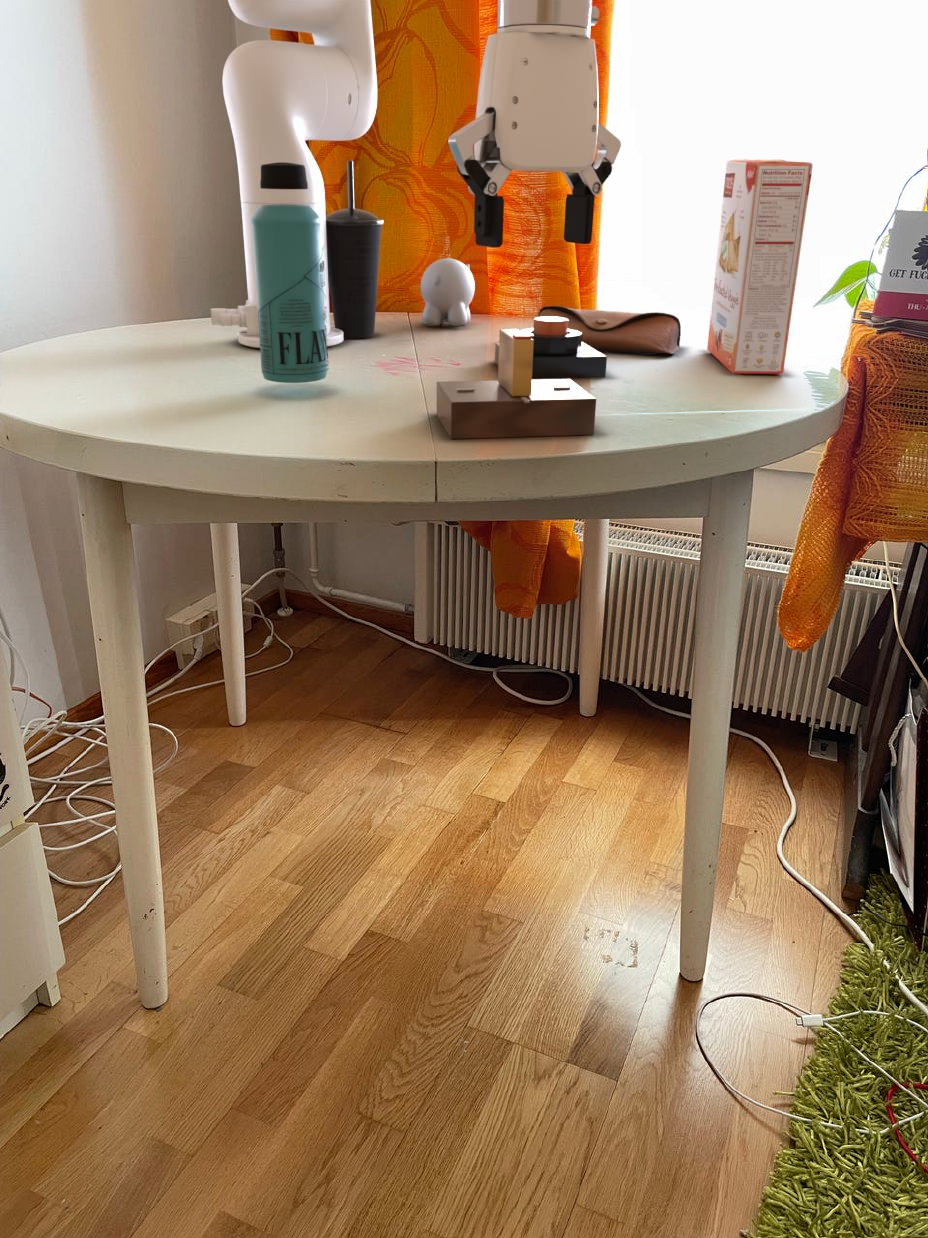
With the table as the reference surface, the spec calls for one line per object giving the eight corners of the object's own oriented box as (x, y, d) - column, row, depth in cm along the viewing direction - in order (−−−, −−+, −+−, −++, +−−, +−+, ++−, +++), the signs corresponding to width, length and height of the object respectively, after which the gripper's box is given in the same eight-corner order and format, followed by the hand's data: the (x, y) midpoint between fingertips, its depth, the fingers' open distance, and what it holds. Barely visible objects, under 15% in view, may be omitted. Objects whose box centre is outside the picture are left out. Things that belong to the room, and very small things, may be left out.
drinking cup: (375, 342, 121) (372, 161, 112) (316, 339, 122) (308, 160, 113) (392, 332, 127) (390, 161, 119) (335, 329, 129) (329, 160, 120)
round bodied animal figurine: (487, 317, 140) (488, 254, 137) (466, 330, 130) (467, 261, 126) (438, 315, 142) (438, 252, 138) (414, 327, 131) (413, 259, 128)
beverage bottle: (273, 401, 91) (257, 162, 82) (252, 387, 96) (235, 161, 88) (340, 395, 94) (331, 163, 85) (316, 382, 99) (305, 162, 90)
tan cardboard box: (497, 382, 85) (499, 326, 83) (515, 382, 86) (517, 325, 84) (512, 396, 80) (514, 336, 78) (531, 396, 81) (533, 336, 79)
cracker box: (702, 351, 118) (724, 158, 109) (753, 352, 118) (779, 159, 109) (727, 374, 106) (754, 158, 97) (784, 375, 105) (816, 159, 96)
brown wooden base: (452, 441, 79) (453, 402, 78) (435, 413, 88) (435, 377, 86) (597, 437, 81) (599, 399, 80) (565, 410, 90) (567, 374, 88)
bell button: (537, 338, 103) (538, 321, 102) (529, 333, 106) (530, 316, 105) (571, 338, 103) (572, 321, 103) (562, 332, 107) (563, 316, 106)
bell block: (512, 379, 101) (513, 339, 100) (494, 363, 109) (495, 325, 108) (605, 377, 103) (608, 338, 101) (581, 361, 111) (584, 324, 109)
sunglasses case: (521, 343, 118) (530, 290, 118) (531, 365, 124) (538, 314, 125) (674, 354, 113) (682, 298, 114) (675, 375, 120) (683, 323, 121)
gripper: (596, 29, 86) (583, 238, 94) (427, 12, 78) (427, 244, 85) (656, 21, 81) (637, 244, 88) (481, 2, 72) (476, 251, 79)
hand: (534, 244), depth 87 cm, fingers open, 9 cm apart
